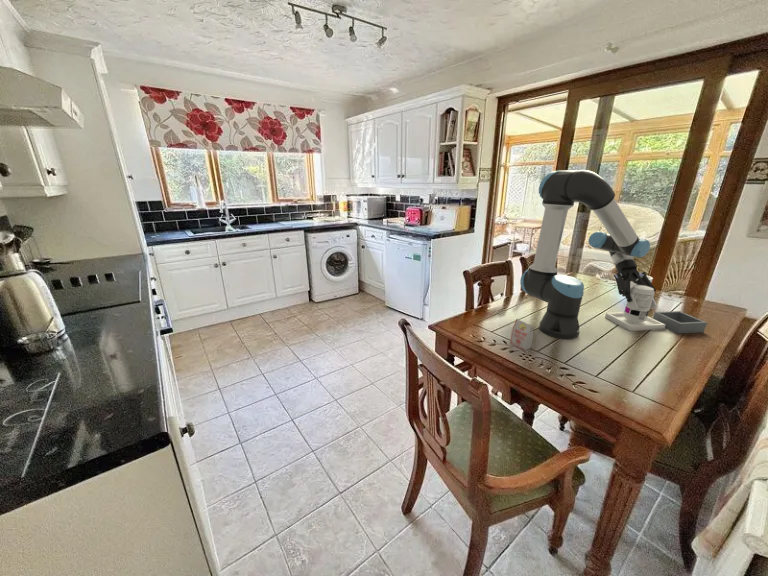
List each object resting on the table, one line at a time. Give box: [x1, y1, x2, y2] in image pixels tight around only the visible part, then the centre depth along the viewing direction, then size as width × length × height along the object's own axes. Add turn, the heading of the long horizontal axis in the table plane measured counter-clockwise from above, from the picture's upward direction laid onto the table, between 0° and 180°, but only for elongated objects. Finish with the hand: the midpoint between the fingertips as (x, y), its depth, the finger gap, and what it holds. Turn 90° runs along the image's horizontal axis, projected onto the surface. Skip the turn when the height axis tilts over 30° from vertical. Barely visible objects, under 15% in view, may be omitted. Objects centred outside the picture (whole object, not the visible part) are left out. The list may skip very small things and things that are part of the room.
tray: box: [604, 311, 665, 332], centre depth 140 cm, size 16×14×2 cm
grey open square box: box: [652, 310, 708, 334], centre depth 136 cm, size 12×12×4 cm
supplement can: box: [623, 285, 656, 322], centre depth 137 cm, size 8×8×15 cm
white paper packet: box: [509, 318, 534, 351], centre depth 121 cm, size 4×7×10 cm, turn 30°
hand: (644, 308), depth 134 cm, fingers closed on supplement can, 8 cm apart
